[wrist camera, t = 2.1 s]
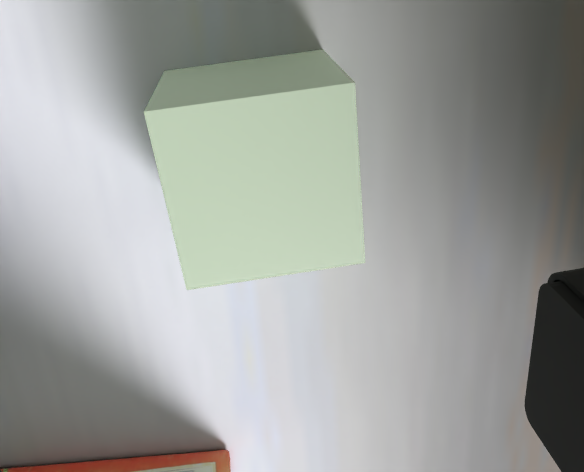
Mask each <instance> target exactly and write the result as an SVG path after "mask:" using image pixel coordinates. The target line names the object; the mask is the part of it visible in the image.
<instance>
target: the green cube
mask: <svg viewBox="0 0 584 472" xmlns="http://www.w3.org/2000/svg"><path fill="white" fill-rule="evenodd" d="M144 116H145V120H146V124H147V128H148V132H149V136H150V140H151V145H152V149H153V153H154V157H155V161H156V165H157V169H158V173H159V178H160V182H161V186H162V190H163V194H164V198H165V202H166V206H167V211H168V215H169V219H170V223H171V227H172V231H173V235H174V239H175V244H176V248H177V252H178V256H179V260H180V264H181V268H182V272H183V277H184V281H185V285H186V289H187V290H191V289H198V288H204V287H211V286H217V285H224V284H230V283H237V282H244V281H250V280H257V279H263V278H270V277H276V276H283V275H289V274H296V273H302V272H309V271H316V270H322V269H329V268H335V267H342V266H348V265H355V264H361V263H365V250H364V233H363V215H362V198H361V180H360V163H359V145H358V128H357V110H356V93H355V82H354V81H353V80H352V79H351V78H350V77H349V76H348V75H347V74H346V73H345V72H344V71H343V70H342V69H341V68H340V67H339V66H338V65H337V64H336V63H335V62H334V61H333V60H332V59H331V58H330V57H329V55H328V54H327V53H326V52H325V51H324V50H323V49H321V50H314V51H307V52H299V53H292V54H285V55H277V56H270V57H262V58H255V59H248V60H240V61H233V62H226V63H218V64H211V65H203V66H196V67H189V68H181V69H174V70H167V71H164V73H163V75H162V77H161V79H160V81H159V82H158V84H157V86H156V88H155V90H154V92H153V94H152V96H151V98H150V100H149V102H148V104H147V106H146V108H145V110H144Z"/></svg>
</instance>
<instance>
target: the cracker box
mask: <svg viewBox="0 0 584 472" xmlns="http://www.w3.org/2000/svg"><path fill="white" fill-rule="evenodd" d="M0 470H1V471H2V472H231V469H230V456H229V451H227V450H217V451H207V452H196V453H185V454H171V455H159V456H147V457H135V458H126V459H113V460H100V461H88V462H78V463H65V464H54V465H43V466H31V467H17V468H7V469H0Z"/></svg>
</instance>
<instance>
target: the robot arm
mask: <svg viewBox="0 0 584 472" xmlns="http://www.w3.org/2000/svg"><path fill="white" fill-rule="evenodd" d="M525 411H526V415H527V418H528V420H529V422H530V424H531V426H532V428H533V429H534V431H535V432H536V434H537V435H538V437H539V438H540V440H541V441H542V443H543V444H544V446H545V447H546V449H547V450H548V452H549V453H550V455H551V456H552V458H553V459H554V461H555V462H556V464H557V465H558V467H559V469H560V470H561V472H584V268H581V269H575V270H569V271H563V272H557V273H554V274H552V275H551V276H550V277H549V279H548V283H546V284H543V285H542V286H541V287H540V290H539V295H538V303H537V310H536V318H535V326H534V334H533V342H532V349H531V357H530V365H529V373H528V381H527V388H526V396H525ZM0 472H2V471H1V470H0Z"/></svg>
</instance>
